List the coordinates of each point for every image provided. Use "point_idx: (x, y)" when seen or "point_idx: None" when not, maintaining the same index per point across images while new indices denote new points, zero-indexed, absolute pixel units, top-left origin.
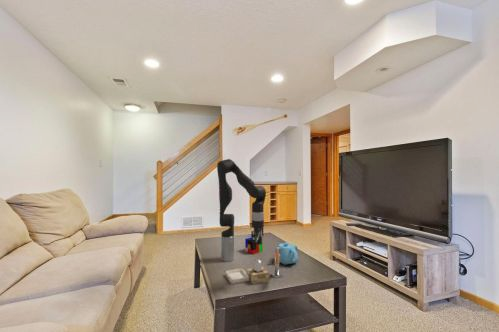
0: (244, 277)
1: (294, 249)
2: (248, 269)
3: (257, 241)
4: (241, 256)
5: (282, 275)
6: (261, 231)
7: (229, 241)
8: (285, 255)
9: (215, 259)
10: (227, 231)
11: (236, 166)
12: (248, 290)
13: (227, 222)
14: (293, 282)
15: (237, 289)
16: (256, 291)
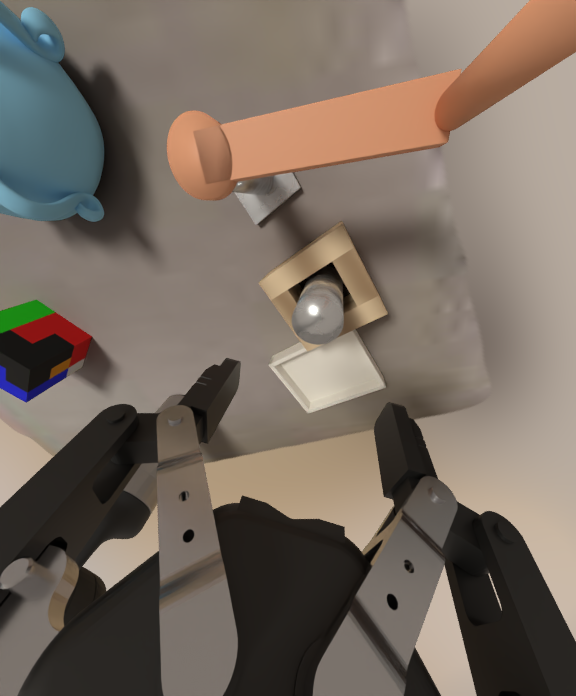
0: (357, 346)
1: None
2: (315, 344)
3: (1, 347)
4: (137, 373)
5: None
6: (200, 629)
7: (151, 475)
8: (40, 109)
9: None
10: (115, 537)
11: None
12: (441, 310)
13: (68, 621)
14: (339, 10)
15: (428, 353)
16: (456, 273)
